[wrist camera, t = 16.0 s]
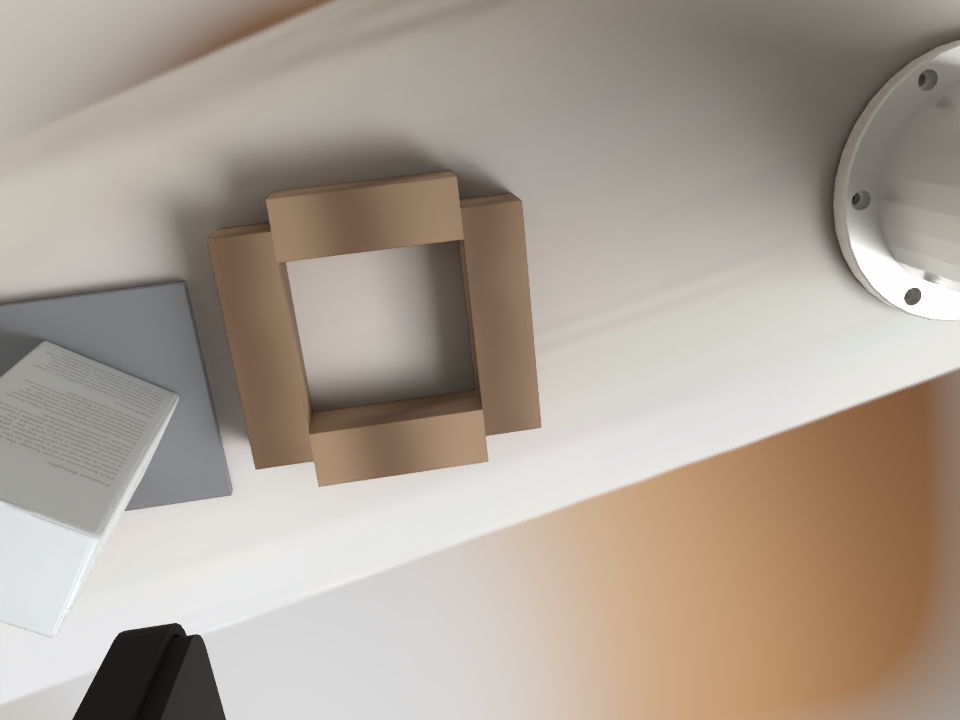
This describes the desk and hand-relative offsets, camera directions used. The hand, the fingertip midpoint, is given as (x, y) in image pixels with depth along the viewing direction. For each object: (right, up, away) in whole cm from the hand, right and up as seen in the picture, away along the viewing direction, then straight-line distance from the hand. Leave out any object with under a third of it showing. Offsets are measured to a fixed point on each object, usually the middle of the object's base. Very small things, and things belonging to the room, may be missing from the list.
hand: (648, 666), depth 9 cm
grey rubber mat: (-19, +1, +28) cm, 33 cm away
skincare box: (-18, +1, +27) cm, 33 cm away
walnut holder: (-6, +5, +28) cm, 29 cm away
